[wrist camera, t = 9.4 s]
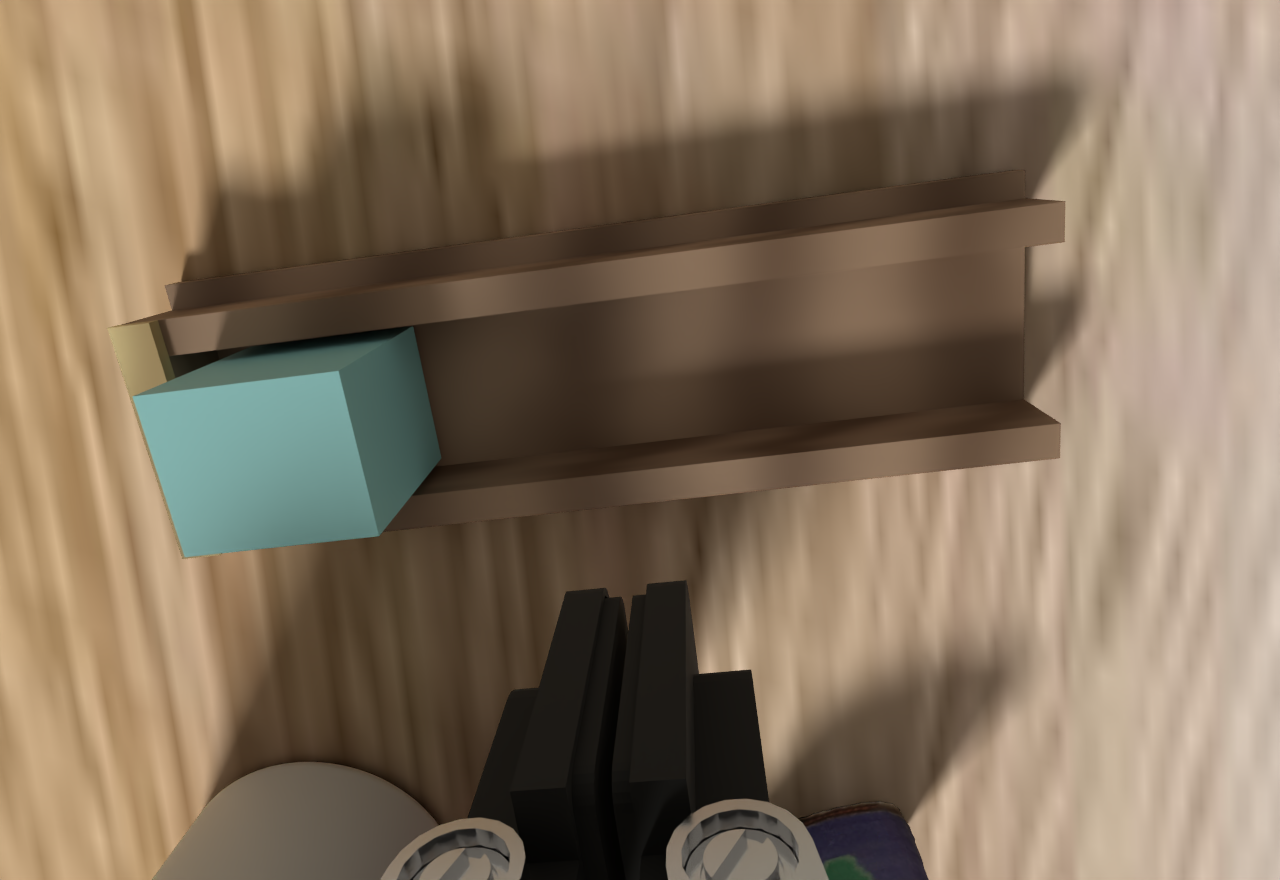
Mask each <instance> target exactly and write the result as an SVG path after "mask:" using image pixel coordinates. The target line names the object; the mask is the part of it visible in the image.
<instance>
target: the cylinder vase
mask: <svg viewBox="0 0 1280 880" xmlns="http://www.w3.org/2000/svg"><path fill="white" fill-rule="evenodd" d="M437 826H439V825H438V824H437V822H436V821H435V820H434V818H433V817H432V816H431V815H430V814H429V813H428V812H427V811H426V810H425V809H424V808H423V807H422V806H421V805H420V804H419V803H418V802H417V801H416V800H415V799H413V798H412V797H411V796H410V795H408V794H407V793H405V792H404V791H403V790H401V789H400V788H398V787H396V786H395V785H393V784H391V783H389V782H388V781H386V780H384V779H382V778H380V777H377V776H375V775H373V774H370V773H368V772H365V771H362V770H359V769H355V768H352V767H348V766H343V765H338V764H332V763H324V762H294V763H286V764H280V765H275V766H271V767H267V768H264V769H260V770H258V771H255V772H252V773H250V774H248V775H246V776H244V777H242V778H240V779H238V780H236V781H235V782H233V783H231V784H230V785H228V786H227V787H226V788H224V789H223V790H222V791H221V792H219V793H218V794H217V795H216V796H215V797H214V798H213V799H212V800H211V801H210V802H209V803H208V804H207V805H206V807H205V808H204V809H203V810H202V812H201V813H200V814H199V816H198V817H197V819H196V820H195V821H194V823H193V824H192V825H191V827H190V828H189V830H188V831H187V832H186V834H185V835H184V836H183V838H182V839H181V840H180V842H179V843H178V845H177V846H176V847H175V849H174V850H173V851H172V853H171V854H170V855H169V857H168V858H167V860H166V861H165V862H164V864H163V865H162V866H161V868H160V869H159V870H158V872H157V873H156V875H155V876H154V877H153V879H152V880H380V879H381V878H382V876H383V874H384V873H385V871H386V869H387V868H388V866H389V865H390V864H391V862H392V861H393V860H394V859H395V857H396V856H397V855H398V854H399V852H400V851H401V850H402V849H403V848H405V847H406V846H407V845H408V844H410V843H411V842H412V841H413V840H414V839H416V838H417V837H418V836H420V835H422V834H424V833H425V832H427V831H429V830H431V829H433V828H435V827H437Z"/></svg>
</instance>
